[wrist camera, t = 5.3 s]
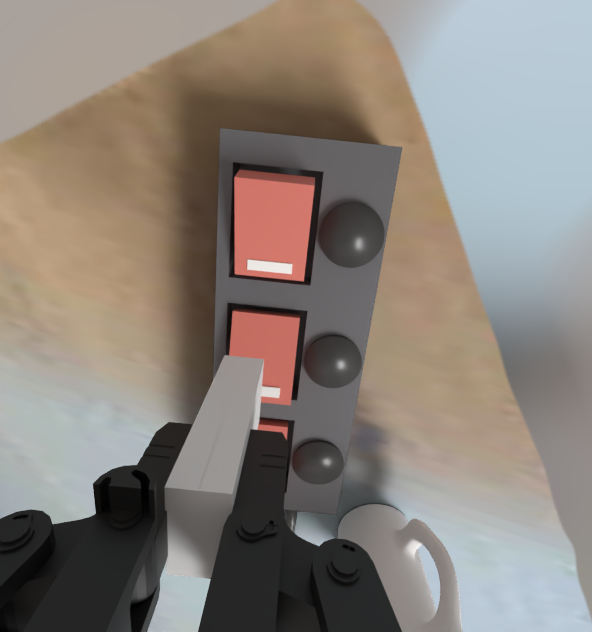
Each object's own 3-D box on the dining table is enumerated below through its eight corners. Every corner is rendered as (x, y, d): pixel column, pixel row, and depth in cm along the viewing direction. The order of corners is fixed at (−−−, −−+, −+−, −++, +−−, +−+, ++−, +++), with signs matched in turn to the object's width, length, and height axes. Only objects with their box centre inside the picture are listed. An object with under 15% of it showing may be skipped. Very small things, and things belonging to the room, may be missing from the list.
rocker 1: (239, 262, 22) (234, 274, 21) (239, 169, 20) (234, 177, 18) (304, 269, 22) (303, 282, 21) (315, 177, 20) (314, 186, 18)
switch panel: (218, 568, 36) (205, 622, 32) (235, 135, 23) (218, 127, 19) (315, 578, 36) (316, 633, 32) (386, 151, 23) (403, 146, 19)
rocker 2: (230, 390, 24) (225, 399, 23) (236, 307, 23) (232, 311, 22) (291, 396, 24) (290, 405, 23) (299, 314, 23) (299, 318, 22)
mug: (382, 569, 35) (416, 754, 24) (319, 538, 34) (324, 718, 23) (454, 496, 32) (531, 672, 21) (387, 461, 31) (430, 625, 20)
